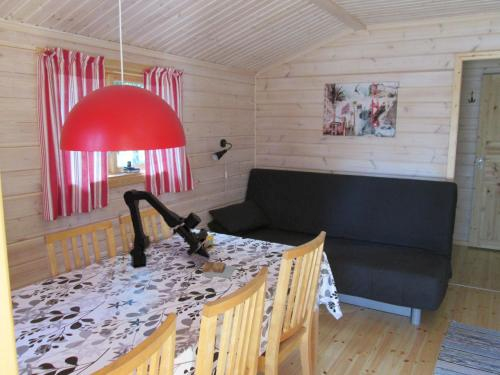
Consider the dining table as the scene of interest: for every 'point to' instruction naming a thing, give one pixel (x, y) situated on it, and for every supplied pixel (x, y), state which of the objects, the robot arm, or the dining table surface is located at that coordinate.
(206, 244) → the candy box
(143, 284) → the dining table surface
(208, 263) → the walnut block
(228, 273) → the mat
